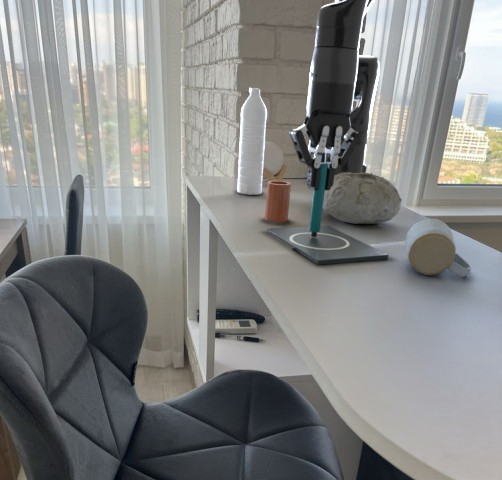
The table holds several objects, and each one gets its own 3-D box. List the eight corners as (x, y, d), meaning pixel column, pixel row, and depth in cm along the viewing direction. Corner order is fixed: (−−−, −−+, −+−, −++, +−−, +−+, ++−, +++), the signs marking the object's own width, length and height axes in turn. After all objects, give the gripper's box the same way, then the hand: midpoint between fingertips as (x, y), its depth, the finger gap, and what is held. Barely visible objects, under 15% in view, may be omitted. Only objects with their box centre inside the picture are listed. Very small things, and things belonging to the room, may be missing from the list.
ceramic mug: (403, 274, 80) (414, 226, 77) (400, 259, 87) (410, 215, 84) (472, 284, 79) (486, 236, 75) (464, 268, 86) (476, 223, 82)
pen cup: (281, 218, 110) (284, 180, 107) (291, 223, 106) (295, 184, 103) (261, 219, 108) (263, 180, 105) (270, 224, 104) (273, 185, 101)
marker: (315, 234, 95) (324, 162, 89) (321, 237, 93) (330, 163, 87) (306, 235, 94) (314, 162, 88) (311, 238, 92) (320, 163, 87)
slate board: (327, 229, 104) (328, 225, 103) (387, 259, 87) (388, 254, 87) (266, 232, 98) (266, 228, 98) (317, 265, 82) (318, 259, 82)
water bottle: (262, 195, 131) (269, 89, 120) (237, 194, 131) (242, 87, 120) (259, 189, 139) (266, 88, 128) (236, 188, 139) (240, 87, 128)
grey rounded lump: (411, 232, 106) (421, 183, 102) (333, 232, 102) (340, 181, 97) (373, 212, 121) (380, 169, 117) (303, 211, 117) (308, 166, 113)
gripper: (306, 78, 77) (295, 194, 84) (380, 84, 82) (363, 193, 89) (284, 77, 83) (275, 186, 90) (354, 83, 88) (340, 185, 96)
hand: (319, 189), depth 90 cm, fingers closed on marker, 2 cm apart
